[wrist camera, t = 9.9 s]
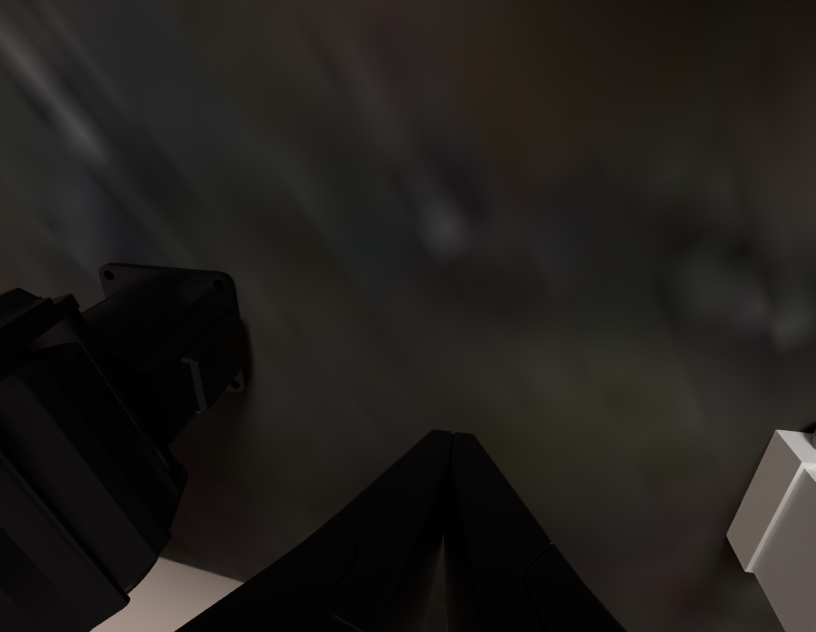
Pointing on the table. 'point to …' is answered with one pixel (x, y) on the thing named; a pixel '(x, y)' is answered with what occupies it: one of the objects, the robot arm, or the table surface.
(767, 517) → the trolley
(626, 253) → the table surface
